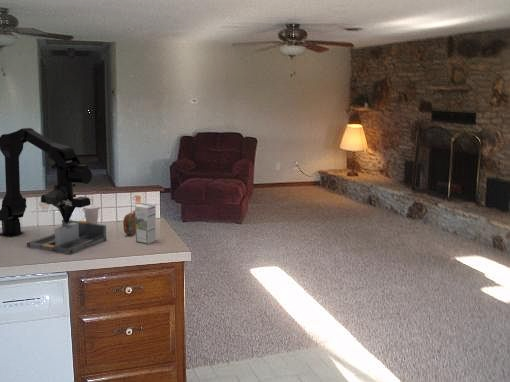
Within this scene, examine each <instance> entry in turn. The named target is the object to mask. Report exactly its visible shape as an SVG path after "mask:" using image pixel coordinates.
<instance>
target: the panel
mask: <svg viewBox="0 0 510 382" xmlns="http://www.w3.org/2000/svg"><path fill="white" fill-rule="evenodd" d="M54 234H55V239H54V240H55V246H59V245H61V244H64V243H67V242H70V241H72V240H75V239H78V238H80V237H79V224H78V223H74V222H73V223H70V224H67V225H64V226H62V225H60V226H59V227H55V228H54Z"/></svg>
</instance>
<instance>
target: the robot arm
mask: <svg viewBox="0 0 510 382" xmlns="http://www.w3.org/2000/svg"><path fill="white" fill-rule="evenodd" d="M25 143H29V144H31V145H33V146H35V147H36V148H38V149H39V150H42V151H43V152H45V153H46V154H47V155H48V157H49V159H50V160H52V161H53V162H54V164H53V165H52V166H51V167H50V168H51V169H53V170H55V177H56V179H55V180H56V184H54V185H53V189H52V190H50V191H49V192H47V193H45V194H42V195H41V197H40V203H41V204H42V203H44V204H46V205H52V206H53V207H55V208H56V209H58V211H59V212H60V214H61V217H62V220H64V222H65V223H68V222H69V220H71V217H72V215H73V213H74V211H75V209H76V208H78V209H79V208H83V207H85V206H88V205H92V200H91V198H90V197H87V196H79V197H77V194H76V193H75V194H74V187H76V186H77V185H76V184H83V185H88V184H89V183H90V182H91V181H92V179H93V173H92V171H91V169H89V167H88V166H89V165H88V164H82V162H81V161H80V159H79V158H78V156H77V155H76V153H75V150H74V148H73V147H71V146H69V145H66V144H61V143H57V142H55V141H53V140H51V139H49V138H48V137H46V136H44V135H42V134H41V133H39V132H37V131H35V129H34V128H33V127H25V128H24V127H23V128H20V129H18V130H16V131H13V132H10V133H3V134H1V135H0V152H1V153H2V155H3V157H4V167H5V168H4V170H5V171H4V172H5V173H4V174H5V195H4V197H3V199H2V201H1V208H0V222H1V230H2V232H0V236H5V237H9V238H10V237H15V236H17V235H21V234H24V231H22V229H21V222H20V219H21V218H23V217H24V214H25V213H26V210H27V208H28V206H27V198H26V197H23V196H22V194H21V184H20V183H21V179H20V155H21V154H22V152H23V151H24V144H25Z"/></svg>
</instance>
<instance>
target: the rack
mask: <svg viewBox="0 0 510 382" xmlns="http://www.w3.org/2000/svg"><path fill="white" fill-rule="evenodd" d="M73 222H74V223H78V224H79V238H78V239H75V240H72V241H70V242H67V243H64V244H61V245H59V246H55V233H53V234H49V235H46V236H43V237H40V238H37V239H33V240H31V241H29V242H26V247H27V248H31V249H36V250H40V251H42V250H43V251H48V252H53V253H58V254H64V255H69V256H71V255H73V254H76V253H78V252H81V251H84V250H85V249H88V248H91V247H93V246H97V245H98V244H101V243H103V242H106V241H107V225H106V224H99V223H97V224H94V223H90V222H87V221H86V220H82V219H81V220H73V219H70V220H69V222H68V223H65V222H64V220H63V219H62V220H61V223H62V224H61V226H64V225H67V224H70V223H73ZM81 243H82V244H81Z"/></svg>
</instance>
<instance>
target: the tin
mask: <svg viewBox="0 0 510 382" xmlns="http://www.w3.org/2000/svg"><path fill="white" fill-rule="evenodd" d="M122 223H123V231H124V234H126V235H127V236H128V235H130V236H131V235H136V221H135V209H134V210H132V211H131V212H129V213H127V214H125V216H124V217H123V220H122Z"/></svg>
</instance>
